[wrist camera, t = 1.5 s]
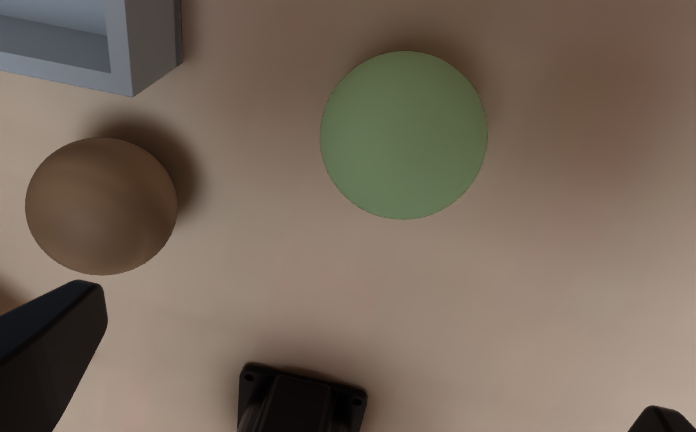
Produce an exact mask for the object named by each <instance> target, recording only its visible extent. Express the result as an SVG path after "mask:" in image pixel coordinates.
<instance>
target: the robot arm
mask: <svg viewBox="0 0 696 432" xmlns="http://www.w3.org/2000/svg"><path fill="white" fill-rule="evenodd" d="M107 324H108V316H107V310H106V303H105V297H104V291H103V288H102V287H101V285H99V284H97V283H93V282H88V281H84V280H74V281H71V282H69V283H67V284H65V285H62V286H60V287H58V288H56V289H54V290H52V291H50V292H48V293H46V294H44V295H42V296H40V297H38V298H36V299H34V300H31V301H29V302H27V303H25V304H23V305H21V306H19V307H17V308H15V309H13V310H11V311H9V312H7V313H5V314H2V315H0V432H52V431H53V429H54V428H55V426H56V425H57V423H58V421H59V420H60V418H61V416H62V415H63V413H64V411H65V409H66V407H67V406H68V404H69V402H70V400H71V398H72V396H73V394H74V392H75V390H76V388H77V386H78V384H79V382H80V381H81V379H82V377H83V375H84V373H85V371H86V369H87V367H88V365H89V363H90V361H91V359H92V357H93V355H94V353H95V351H96V349H97V347H98V345H99V343H100V341H101V340H102V338H103V336H104V334H105V331H106V328H107ZM367 399H368V395H367V393H366V392H364V391H363V390H360V389H356V388H352V387H347V386H343V385H338V384H334V383H330V382H325V381H321V380H316V379H312V378H307V377H303V376H298V375H294V374H290V373H285V372H281V371H276V370H272V369H267V368H263V367H258V366H254V365H245V366H244V367H243V369H242V371H241V374H240V380H239V401H238V423H237V432H359V431H360V427H361V424H362V420H363V416H364V413H365V409H366V405H367ZM628 432H696V429H695V428H694V427H693V426H692V424H691V423H690V422H689V421H688V420H687V419H686V418H685V417H684V416H683V415H682V414H680V413H679V412H678V411H675V410H672V409H668V408H663V407H659V406H654V405H651V406H649V407H646V408H645V409H644V410H643V412H642V413H641V414H640V416H639V417H638V418H637V420H636V421H635V422H634V424H633V425H632V426H631V428H630V429H629V430H628Z"/></svg>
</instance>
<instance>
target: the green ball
mask: <svg viewBox="0 0 696 432" xmlns="http://www.w3.org/2000/svg"><path fill="white" fill-rule="evenodd" d="M487 139H488V135H487V120H486V115H485V111H484V108H483V106H482V103H481V100H480V98H479V96H478V94H477V92H476V90H475V89H474V87H473V86H472V85H471V83H470V82H469V81H468V80H467V79H466V77H465V76H464V75H463V74H462V73H461V72H460V71H458V70H457V69H456V68H454V67H453V66H452V65H451V64H449V63H447V62H445V61H444V60H442V59H440V58H437V57H435V56H432V55H429V54H425V53H422V52H414V51H396V52H389V53H385V54H381V55H378V56H375V57H373V58H371V59H368V60H366V61H365V62H363V63H361V64H360V65H358V66H356V67H355V68H354V69H353V70H351V71H350V72H349V73H348V74H347V75H346V76H345V77H344V78H343V79H342V80H341V81H340V82H339V84H338V85H337V86H336V88H335V89H334V91H333V92H332V94H331V96H330V98H329V99H328V101H327V104H326V107H325V110H324V113H323V116H322V121H321V127H320V145H321V152H322V157H323V161H324V164H325V166H326V169H327V172H328V174H329V175H330V177H331V179H332V181H333V182H334V184H335V185H336V187H337V188H338V189H339V190H340V191H341V193H342V194H343V195H344V196H345V197H346V198H347V199H348V200H350V201H351V202H352V203H353V204H355V205H356V206H358V207H359V208H361V209H363V210H365V211H367V212H369V213H371V214H374V215H377V216H380V217H384V218H390V219H401V220H406V219H416V218H421V217H425V216H428V215H432V214H434V213H436V212H438V211H441V210H442V209H444V208H446V207H447V206H449V205H451V204H452V203H453V202H454V201H456V200H457V199H458V198H459V197H460V196H461V195H462V194H464V193H465V191H466V190H467V189H468V188H469V186H470V185H471V184H472V182H473V181H474V179H475V178H476V176H477V174H478V173H479V170H480V168H481V165H482V163H483V160H484V156H485V152H486V148H487Z"/></svg>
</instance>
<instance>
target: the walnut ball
mask: <svg viewBox="0 0 696 432" xmlns="http://www.w3.org/2000/svg"><path fill="white" fill-rule="evenodd" d="M177 207H178V205H177V196H176V191H175V188H174V185H173V183H172V180H171V178H170V176H169V174H168V173H167V171H166V170H165V168H164V167H163V166H162V165H161V163H160V162H159V161H158V160H157V159H156V158H155V157H154V156H152V155H151V154H150V153H148V152H147V151H145V150H144V149H142V148H140V147H138V146H137V145H134V144H132V143H129V142H126V141H123V140H119V139H114V138H99V137H97V138H88V139H82V140H79V141H75V142H72V143H70V144H67V145H65V146H63V147H61V148H60V149H58V150H56V151H55V152H54V153H52V154H51V155H50V156H48V157H47V158H46V159H45V160H44V161H43V162H42V163H41V165H40V166H39V167H38V168H37V170H36V171H35V173H34V175H33V177H32V179H31V181H30V183H29V186H28V189H27V193H26V199H25V213H26V219H27V223H28V226H29V229H30V231H31V233H32V235H33V237H34V239H35V240H36V242H37V244H38V245H39V246H40V248H41V249H42V250H43V251H44V252H45V253H46V254H47V255H48V256H49V257H51V258H52V259H53V260H54V261H56V262H57V263H59V264H61V265H63V266H64V267H67V268H69V269H71V270H74V271H77V272H80V273H84V274H90V275H113V274H119V273H123V272H126V271H130V270H133V269H135V268H137V267H139V266H141V265H143V264H145V263H146V262H147V261H149V260H150V259H151V258H153V257H154V256H155V255H156V254H157V253H158V252H159V251H160V250H161V249H162V248H163V247H164V245H165V244H166V242H167V241H168V239H169V237H170V236H171V234H172V231H173V228H174V226H175V223H176V218H177Z"/></svg>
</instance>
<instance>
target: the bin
mask: <svg viewBox="0 0 696 432" xmlns="http://www.w3.org/2000/svg"><path fill="white" fill-rule="evenodd" d="M181 63H182V35H181V3H180V0H0V71H5V72H10V73H15V74H20V75H25V76H30V77H34V78H39V79H44V80H49V81H54V82H59V83H64V84H69V85H74V86H79V87H84V88H89V89H94V90H98V91H103V92H108V93H113V94H118V95H123V96H128V97H134V96H136V95H137V94H139V93H140V92H141V91H143V90H144V89H146V88H147V87H149V86H150V85H151V84H153V83H154V82H156V81H157V80H159V79H160V78H161V77H163V76H164V75H166V74H167V73H169V72H170V71H171V70H173V69H174V68H176V67H177V66H179V65H180V64H181Z"/></svg>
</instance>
